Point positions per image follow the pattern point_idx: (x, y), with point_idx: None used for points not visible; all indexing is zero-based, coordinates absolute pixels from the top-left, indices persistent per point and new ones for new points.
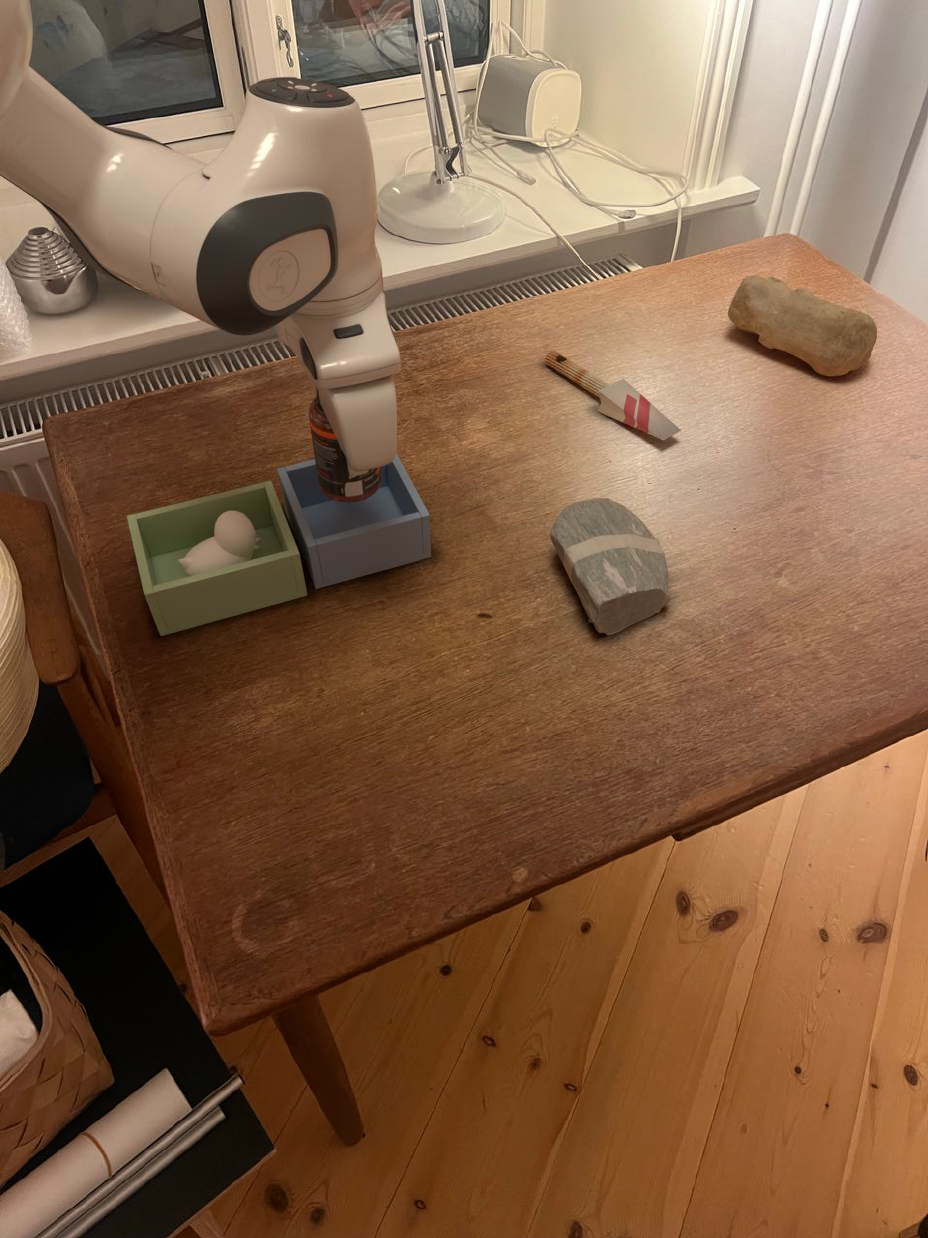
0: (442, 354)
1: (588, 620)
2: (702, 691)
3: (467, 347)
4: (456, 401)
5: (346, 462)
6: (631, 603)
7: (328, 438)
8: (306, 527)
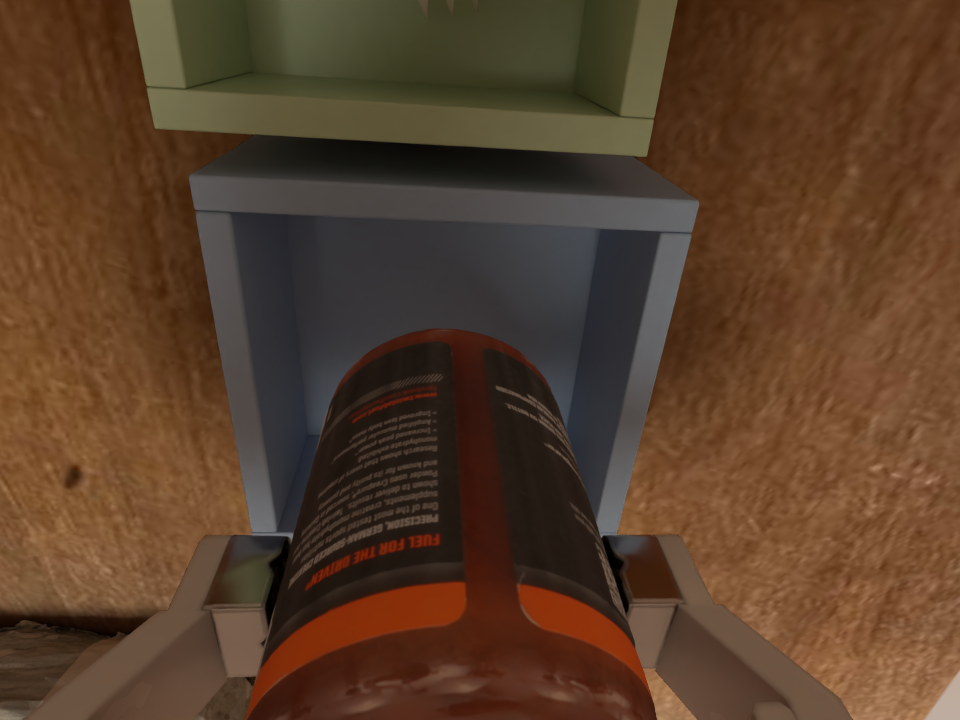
0: (901, 636)
1: (24, 621)
2: None
3: (881, 672)
4: (748, 617)
5: (222, 577)
6: None
7: (291, 634)
8: (304, 205)
